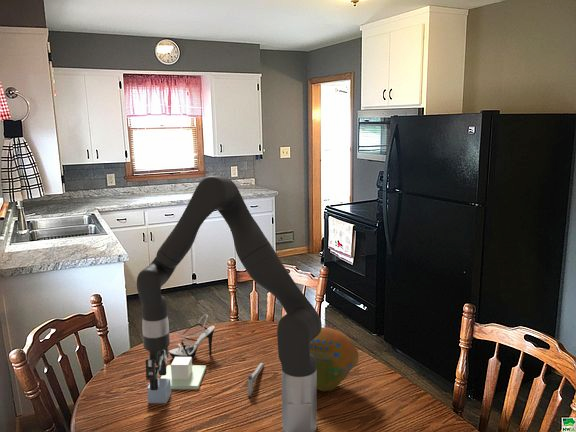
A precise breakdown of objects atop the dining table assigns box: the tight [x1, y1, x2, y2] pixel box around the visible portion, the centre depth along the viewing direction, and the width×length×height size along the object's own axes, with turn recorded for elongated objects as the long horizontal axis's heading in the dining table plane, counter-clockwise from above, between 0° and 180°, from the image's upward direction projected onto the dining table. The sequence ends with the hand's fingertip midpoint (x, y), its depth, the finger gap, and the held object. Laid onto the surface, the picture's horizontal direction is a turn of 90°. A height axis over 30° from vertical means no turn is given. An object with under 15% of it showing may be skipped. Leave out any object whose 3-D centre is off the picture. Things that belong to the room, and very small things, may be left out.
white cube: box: [170, 357, 193, 380], centre depth 157 cm, size 5×5×5 cm
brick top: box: [146, 377, 172, 404], centre depth 146 cm, size 5×5×5 cm
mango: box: [309, 327, 359, 392], centre depth 150 cm, size 20×16×20 cm
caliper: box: [247, 362, 265, 397], centre depth 156 cm, size 20×1×6 cm, turn 172°
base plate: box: [160, 364, 207, 390], centre depth 157 cm, size 13×13×1 cm
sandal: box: [168, 314, 216, 361], centre depth 171 cm, size 15×9×15 cm, turn 82°
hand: (158, 382), depth 146 cm, fingers open, 8 cm apart
